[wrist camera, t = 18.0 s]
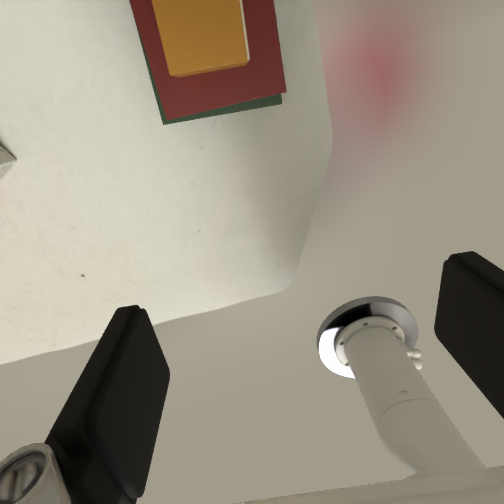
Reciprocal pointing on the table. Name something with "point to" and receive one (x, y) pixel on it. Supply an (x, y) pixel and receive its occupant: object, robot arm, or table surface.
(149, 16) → the book stack
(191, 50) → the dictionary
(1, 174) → the ink box
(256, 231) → the table surface
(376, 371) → the robot arm
